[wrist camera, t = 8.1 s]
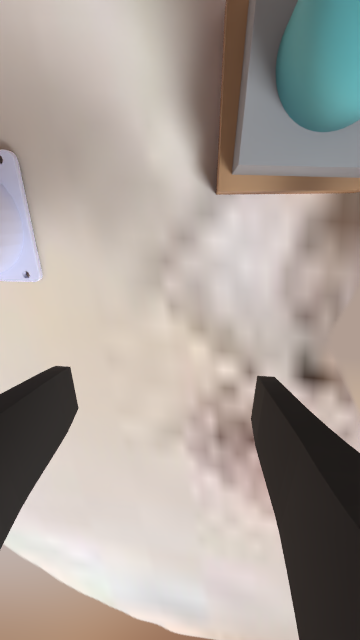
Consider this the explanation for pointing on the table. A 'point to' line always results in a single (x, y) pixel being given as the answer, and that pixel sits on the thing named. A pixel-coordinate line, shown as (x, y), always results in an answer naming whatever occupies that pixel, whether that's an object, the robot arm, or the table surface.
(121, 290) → the table surface
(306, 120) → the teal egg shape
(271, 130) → the tower top
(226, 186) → the tower bottom
